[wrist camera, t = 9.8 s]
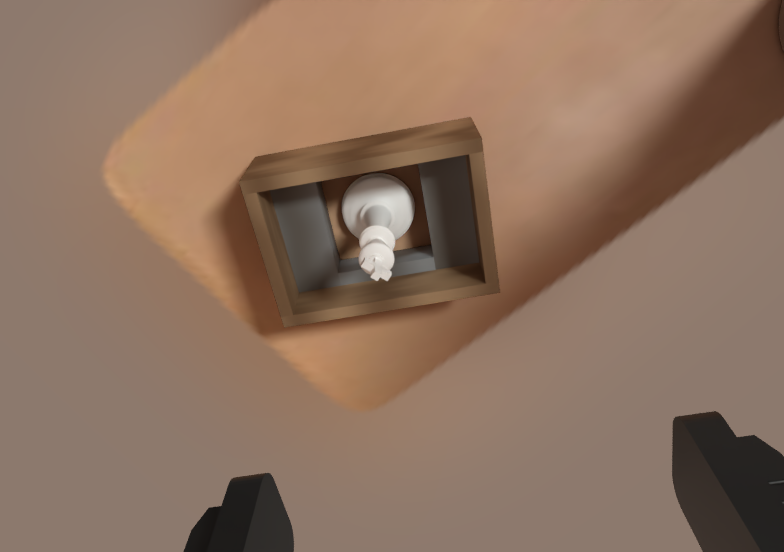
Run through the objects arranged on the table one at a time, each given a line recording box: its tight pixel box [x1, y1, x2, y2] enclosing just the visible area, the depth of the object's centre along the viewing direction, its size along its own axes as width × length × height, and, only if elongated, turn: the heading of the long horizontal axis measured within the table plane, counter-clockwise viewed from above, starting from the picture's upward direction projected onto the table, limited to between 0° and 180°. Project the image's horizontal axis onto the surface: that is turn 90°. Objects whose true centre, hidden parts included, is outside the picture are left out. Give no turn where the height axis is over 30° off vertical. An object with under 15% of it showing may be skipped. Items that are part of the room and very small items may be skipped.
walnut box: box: [239, 117, 500, 328], centre depth 39 cm, size 14×10×5 cm
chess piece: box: [342, 173, 415, 281], centre depth 37 cm, size 5×5×10 cm
